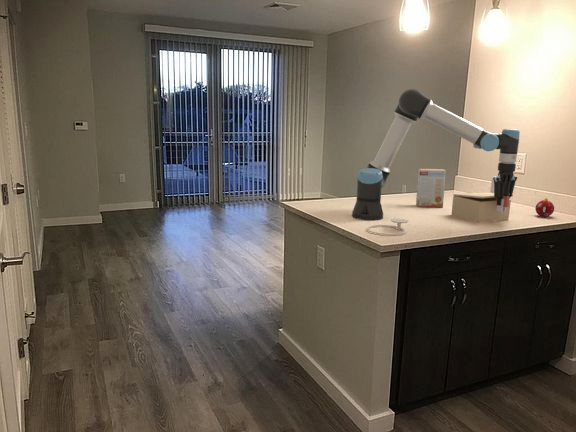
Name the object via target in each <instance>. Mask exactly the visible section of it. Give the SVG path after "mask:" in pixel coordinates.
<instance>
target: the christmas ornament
mask: <svg viewBox="0 0 576 432" xmlns="http://www.w3.org/2000/svg"><path fill="white" fill-rule="evenodd" d="M554 212H555V205H554V203H553V202H552V201H550V200H548V197H545V198H544V200H540V201H538V202H537V204H536V205H535V213H536V214H537V215H538V216H539V217H542V218H543V217H544V218H546V217H549V216H551V215H552V214H553V213H554Z"/></svg>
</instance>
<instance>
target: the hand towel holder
mask: <svg viewBox="0 0 576 432" xmlns="http://www.w3.org/2000/svg"><path fill="white" fill-rule="evenodd" d="M389 220H390V222H392V223H394V224H396V225H389V224H373V225H370V226H367V227H366V229H367V230H366V232H368V231H369V232H372V233H376V234H382V235H381V236H383V235H390V236H389V237H397V236H396V235H399V236H403V235H405V234H406V230H405V228H403V227H402V224H407V223H408V222H409V219H407V218H400V217H399V218H398V217H397V218H396V217H394V218H390V219H389ZM377 226H378V227H377ZM379 226H382V227H381V228H389V227H391V228H390V229H396V228H397V229H396V230H398V229H400V231H401V232H398V233H397V232H395V233H386V232H385V233H383V232H378V231H377V232H376V231H373V230H370V229H371V227H373V228H380V227H379ZM369 228H370V229H369ZM369 232H368V233H369ZM372 233H371V234H372ZM376 234H375V235H376ZM402 234H403V235H402ZM393 235H394V236H393Z"/></svg>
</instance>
